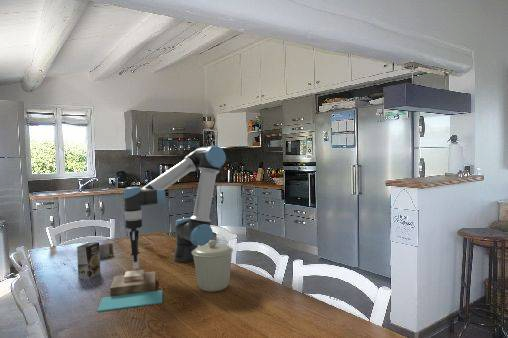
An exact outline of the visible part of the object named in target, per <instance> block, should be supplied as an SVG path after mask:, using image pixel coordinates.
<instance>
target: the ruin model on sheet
mask: <svg viewBox="0 0 508 338" xmlns="http://www.w3.org/2000/svg"><path fill="white" fill-rule="evenodd" d="M99 251H100V259H105V258H108V256H110V257H114V243H112V242H109V243H106V244H99ZM104 257H105V258H104Z"/></svg>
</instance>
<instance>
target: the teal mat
mask: <svg viewBox="0 0 508 338" xmlns="http://www.w3.org/2000/svg"><path fill="white" fill-rule="evenodd" d="M158 304H163V289H161V290H155V291H151V292H143V293H135V294H128V295H120V296H112V297H111V296H105V297H102V298H101V301H100V303H99V305H98V308H97V309H96V311H97V313H101V312H107V311H113V310H115V311H116V310H121V309H127V308H128V309H129V308H135V307H136V308H137V307H144V306H149V305H150V306H151V305H152V306H153V305H158Z"/></svg>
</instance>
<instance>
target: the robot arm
mask: <svg viewBox="0 0 508 338" xmlns="http://www.w3.org/2000/svg"><path fill="white" fill-rule="evenodd" d="M226 159H227V156H226V153H225V151H224V149H223V148H222V147H221V146H218V145H208V146H207V145H204V146H200V147H198V148H195V150H193V151H191V152H190V153H189V154H187V155H186V156H184V158H183V160H182V161H180V162H179V163H177V164H176V165H174V166H173V167H171V168H169V169H168V170H167V171H165V172H164V173H162V174H161V175H159V176H158V177H156V178H155V179H153V180H152V181H150V182H149V183H147V184H146V185H145V186H143V187H139V186H129V187H125V188H124V189H123V191H124V192H123V199H124V213H123V215H124V217H125V229H128V230H129V229H130V231H129V237H130V246H131V254H130V256H131V258H132V259H131V260H132V269H133V270H134V269H139V268H140V262H139V254H140V253H141V252H140V251H139V239H140V238H139V234H140V231H139V230H138V229H140V228H142V227H143V219H142V217H143V216H142V215H143V214H142V213H143V211H142V210H143V209H142V207H145V206H152V205H161V204H164V203H165V201H166V192H165V190H167V188H169V187H171V186H172V185H174V184H175V183H176V182H178V181H179V180H180V179H183V177H185V176H187V175H188V174H189V173H190V172H196V170H198V169H199V171H200V175H199V180H198V186H197V193H196V196H195V203H194V208H193V212H192V213H193V215H191V216H190V217H185V218H179V219H177V220H175V239H176V240H175V242H176V243H175V244H176V246H175V249H174V250H175V251H174V254H173V260H174V262H177V263H189V262H194V257H193V255H192V251H193V250H194V249H196V248H197V247H199V246H202V245H207V244H208V242H209V241H210V240H212V238H213V229H212V226H211V224H212V220H211V219H210V214H211V207H212V201H213V196H214V189H215V184H216V183H215V182H216V178H217V175H218V174H219V173H220V172H221V167H222V166H224V164H225V163H226Z"/></svg>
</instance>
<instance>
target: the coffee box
mask: <svg viewBox="0 0 508 338" xmlns="http://www.w3.org/2000/svg"><path fill="white" fill-rule="evenodd" d="M99 245H100V242H98V241H97V242H95V241H94V242H93V241H92V242H87V243H83V244H81V245H78V246H77V247H76V253H77V274H78V275H77V276H78V279H79V280H90V279H93V278H95V277H97V276H99V275H100V274H101V258H100V251H99Z"/></svg>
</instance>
